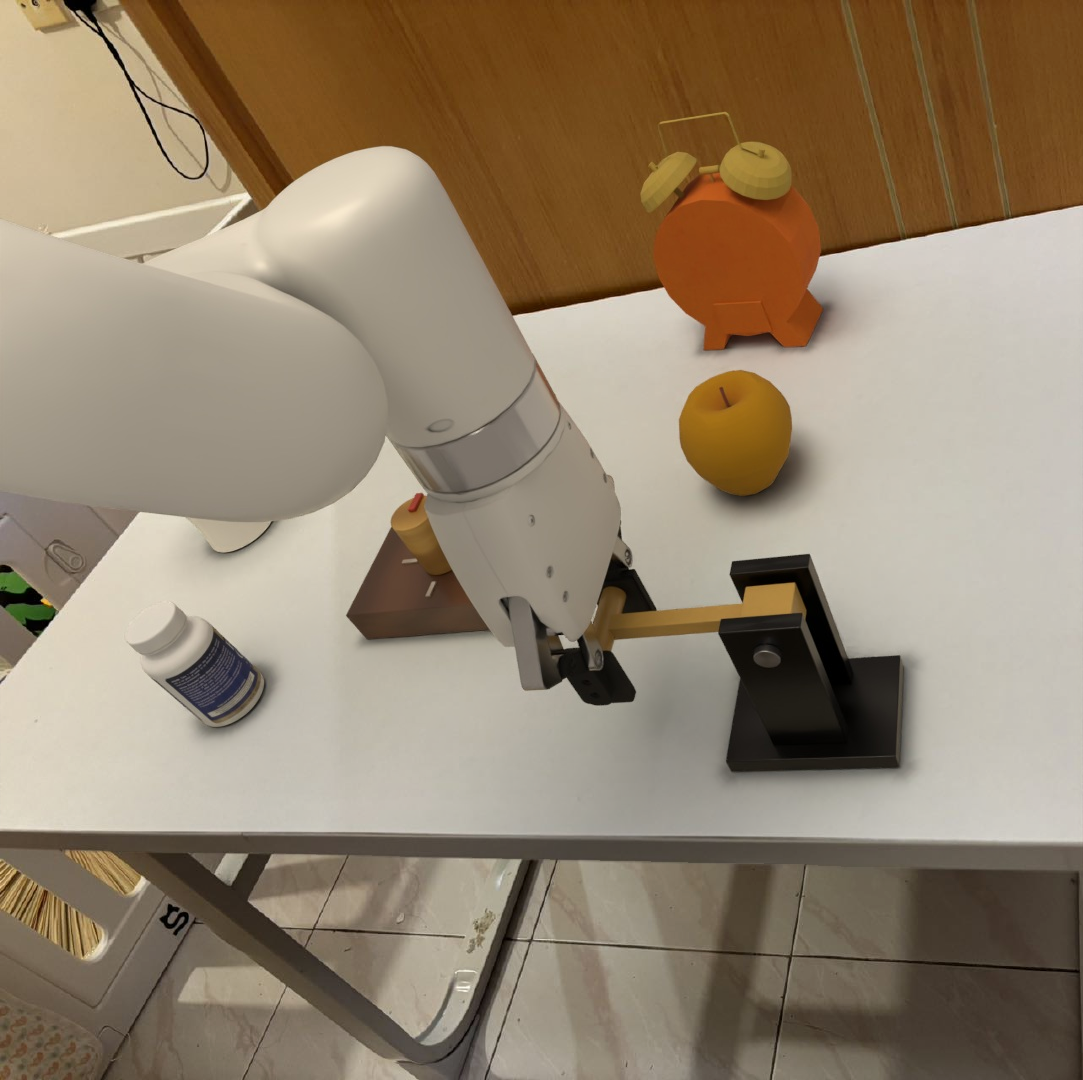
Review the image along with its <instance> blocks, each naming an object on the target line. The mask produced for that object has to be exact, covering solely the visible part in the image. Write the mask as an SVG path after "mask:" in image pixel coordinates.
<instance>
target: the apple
mask: <svg viewBox="0 0 1083 1080" xmlns="http://www.w3.org/2000/svg"><path fill="white" fill-rule="evenodd" d="M678 431H679V433H678V435H679V436H678V439H679V445H680V448H681V451H682V453H683V455H684V457H685V459H686V462H687V463H688V464H689V465H690V466H691V468H692V469H693V470H694V471H695V472H696V474H697V475H699V476H700V477H701V478H703V480H705V481H706V482H707V483H709V484H710V485H712V486H713V487H715V488H717V489H719V490H721V491H723V492H725V493H728V494H731V495H734V496H739V497H745V496H751V495H756V494H758V493H760V492H762V491H763V490H766V489H767V488H768V487H770V486H771V485H772V484H773V483H774V482H775V480H776V478H777V476H778V475H779V473H780V471H781V469H782V468H783V465H784V464H785V462H786V460H787V459H788V457H789V453H790V447H791V442H792V441H791V439H792V434H793V417H792V411H791V406H790V404H789V402H788V401H787V399H786V397H785V396H784V394H783V393H782V392H781V391H780V389H778V388H777V387H776V386H775V384H773V383H772V382H771V381H770V380H768V379H766V378H765V377H762V376H761V375H759V374H758V373H756V372H753V371H749V370H748V371H747V370H743V369H739V370H738V369H736V370H729V371H725V372H723V373H720V374H717V375H714V376H712V377H709V378H708V379H706V380H705V381H703V382H701V383H700V384H698V385H696V386H695V387H694V388H693V389H692V390H691V392H690V393H689V394H688V396H687V398H686V401H685V403H684V405H683V407H682V409H681V412H680V415H679V418H678Z"/></svg>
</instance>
